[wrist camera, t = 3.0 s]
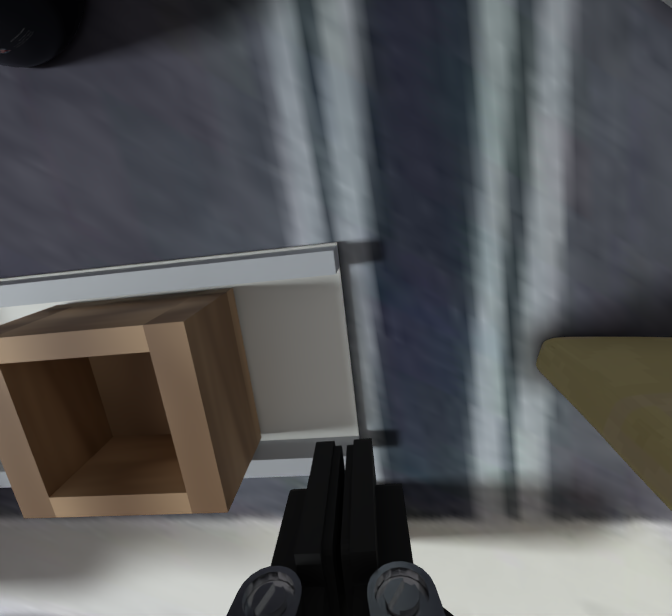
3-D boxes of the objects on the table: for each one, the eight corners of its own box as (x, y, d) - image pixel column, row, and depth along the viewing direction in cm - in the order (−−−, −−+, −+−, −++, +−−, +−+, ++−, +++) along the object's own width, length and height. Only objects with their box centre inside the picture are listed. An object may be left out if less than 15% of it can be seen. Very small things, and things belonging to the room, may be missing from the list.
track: (337, 241, 18) (305, 287, 9) (361, 449, 21) (353, 629, 12) (-179, 297, 21) (-557, 369, 13) (-95, 470, 24) (-354, 625, 15)
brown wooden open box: (232, 287, 18) (183, 321, 13) (261, 437, 20) (227, 512, 16) (56, 305, 19) (-48, 341, 14) (101, 445, 21) (24, 518, 17)
